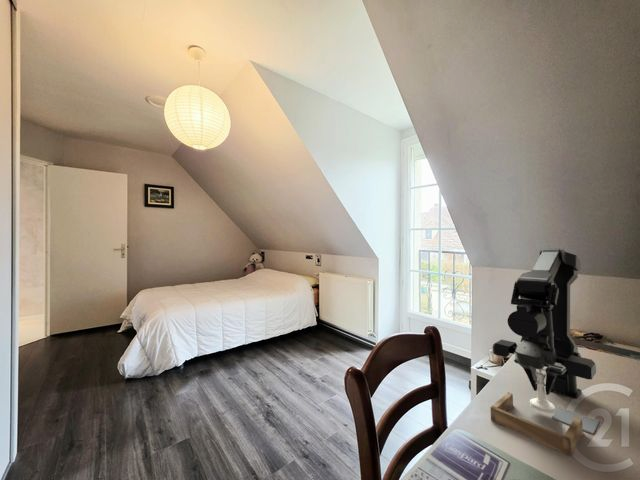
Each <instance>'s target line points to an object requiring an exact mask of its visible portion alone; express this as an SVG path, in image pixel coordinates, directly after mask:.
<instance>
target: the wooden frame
mask: <svg viewBox="0 0 640 480" xmlns="http://www.w3.org/2000/svg"><path fill="white" fill-rule="evenodd" d="M512 407H514V396H513V393H511V392H507V393H506V394H504V395H503V396H502V397H501V398H499V399H498V400H497V401H496V402H495V403H494V404H492V405H491V406H490V420H491V421H492V422H494V423H496V424H499V425H501V426H504V427H506V428H508V429H509V430H512V431H514V432H516V433H518V434H520V435H523V436H525V437H527V438H529V439H532V440H534V441H537V442H539V443H540V444H543V445H545V446H546V447H550V448H551V449H554V450H555V451H558V452H560V453H563V454H564V455H567V456H570V457H571V456H572V455H573V453H574V450H575V448H576V447H577V445H578V443H579V441H580V440H581V438H582V435H583V433H584V431H583V428H582V419H581V418H578V417H575V419H574V420H573V422H572V423H571V425H569V427H568V428H567V431H566V432H565V433H564V434H562V433H559V432H557V431H554V430H552V429H549V428H547V427H544V426H542V425H540V424H537V423H536V422H533V421H530V420H527V419H526V418H523V417H521V416H518V415H515V414H514V413H511V412H509V410H510V409H512Z"/></svg>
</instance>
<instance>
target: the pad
mask: <svg viewBox="0 0 640 480" xmlns="http://www.w3.org/2000/svg"><path fill="white" fill-rule="evenodd" d="M575 417H578V418H581V419H582V428H583V432H586V433H589V434H591V435H594V434H595V432H596V430H597V428H598V426H599V423H600V420H599V419H596V418H593V417H589V416H587V415H584V414H582V413H578V412H575V411H572V410H570V409H567V408H564V407H561V406H559V407H558V408H557V409H556V412H554V413H553V415H552V416H551V419H553V420H555V421H557V422H560V423H563V424H565V425H567V426H570V425H571V423H572V422H573V420H574V419H575Z"/></svg>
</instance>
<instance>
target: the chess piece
mask: <svg viewBox="0 0 640 480" xmlns="http://www.w3.org/2000/svg"><path fill="white" fill-rule="evenodd" d="M545 369H546V368H545V367H544V368H543V369H536V372H535V374H536V376H537V381H536V382H535V383H536V384H538V385H537V397H535V398H531V399H530V400H529V405H530V407H531V408H533V409H535V410H536V411H539V412H543V413H547V414H554V413H555V412H556V411H557V409H556V406H555V405H554V403H552V402H550V401H549V400H548V399H547V397H546V390H545V387H546V381H545V380H546V371H545ZM537 370H538V371H537ZM543 371H544V372H543Z"/></svg>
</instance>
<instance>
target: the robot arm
mask: <svg viewBox="0 0 640 480" xmlns="http://www.w3.org/2000/svg"><path fill="white" fill-rule="evenodd" d="M581 267H582V266H581V260H580V259H579V257H578V255H576V254H574V253H570V252H568V251H566V250H565V249H561V248H544V249H541V250H540V251H539V256H538V258H537V260H536V262H535V264H534V266H533V267H532V269H530V271H527V272H523V273H522V274H521V275H520V276H519V277H518V278H517V279H516V280H515V281H514V284H513V290H512V295H511V301H510V305H514V306H515V305H516V310H515V311H512V312H511V313H510V314H509V315H508V317H507V326H508V327H509V329H510V330H511V331H512V333H514V334H515V335H518V336H520V337H521V339H520V342H519V343H518V344H517V342H515V341H511V340H506V339H500V340H498V341H497V342H495V343H493V345H492V353H493V355H496V356H499V357H503V358H507V357H508V356H510V354H511V355H512V354H513V355H514V359H513V362H514V363H515V364H517V365H519V366H520V367H521V368H522V369H523V371H524V372H525V374H526V376H527V378H528V380H529V383H530V385H531V386H532V390H533V391H535V392H538V386H539V385H538V384H536V383H535V382H536V381H538V379H537V376H536V374H535V372H537V369H543V368H544V369H545V371H544V372H545V374H546V377H545V383H546V386H544V390H545V396H546V395H547V396H549V395H550V393H551V392H552V393H553V392H554V393H556V394H559V395H562V396H566V397H569V398H572V399H576V400H577V399H578V397H579V396H580V395H581V393H582V389H580V388H578V383H577V377H578V378H581V379H585V380H593V378H594V377H595V375H596V374H597V366H596V362H595V361H594V360H593V359H591V358H586V357H582V354H581V353H580V352H579V347H578V345H577V344H576V342H575V341H574V339H573V338H572V336H571V286H572V284H573V283H574V282H576V280H577V279H578V277H579V276H578V275H579V272H580V271H581V269H582V268H581ZM545 367H546V368H545Z"/></svg>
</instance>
